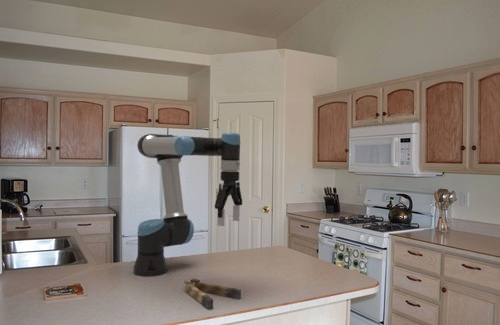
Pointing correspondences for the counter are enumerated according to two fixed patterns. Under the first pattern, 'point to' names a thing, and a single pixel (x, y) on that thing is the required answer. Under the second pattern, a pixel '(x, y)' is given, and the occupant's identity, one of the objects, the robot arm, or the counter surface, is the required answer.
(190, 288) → the tong arm
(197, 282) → the base
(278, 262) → the counter surface
